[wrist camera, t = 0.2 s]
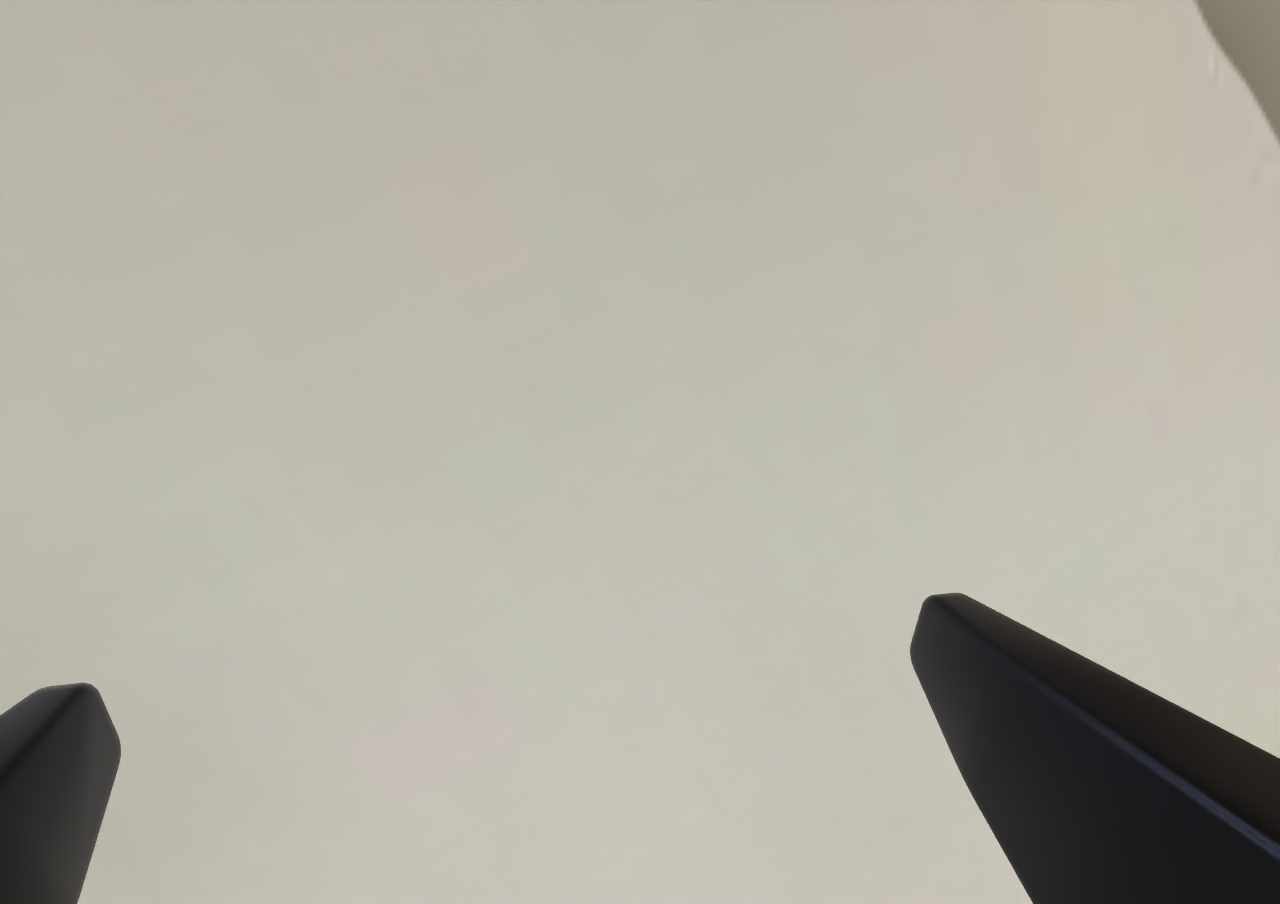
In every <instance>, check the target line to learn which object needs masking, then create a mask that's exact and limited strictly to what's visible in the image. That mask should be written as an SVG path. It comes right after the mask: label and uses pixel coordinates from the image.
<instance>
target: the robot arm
mask: <svg viewBox="0 0 1280 904" xmlns="http://www.w3.org/2000/svg"><path fill="white" fill-rule="evenodd" d="M910 655H911V661H912V664H913V667H914V670H915V672H916V674H917V676H918V679H919V681H920V683H921V685H922V688H923V690H924V692H925V694H926V697H927V699H928V701H929V703H930V706H931V708H932V710H933V712H934V715H935V717H936V719H937V721H938V724H939V726H940V728H941V730H942V733H943V735H944V737H945V739H946V742H947V744H948V746H949V748H950V751H951V753H952V755H953V757H954V760H955V762H956V764H957V766H958V768H959V770H960V772H961V774H962V777H963V779H964V781H965V783H966V785H967V786H968V788H969V790H970V792H971V794H972V796H973V798H974V800H975V801H976V803H977V805H978V807H979V809H980V810H981V812H982V814H983V816H984V817H985V819H986V821H987V823H988V824H989V826H990V828H991V830H992V832H993V833H994V835H995V837H996V839H997V840H998V842H999V844H1000V846H1001V847H1002V849H1003V851H1004V853H1005V855H1006V856H1007V858H1008V860H1009V862H1010V863H1011V865H1012V867H1013V869H1014V871H1015V872H1016V874H1017V876H1018V878H1019V879H1020V881H1021V883H1022V885H1023V886H1024V888H1025V890H1026V892H1027V894H1028V895H1029V897H1030V899H1031V901H1032V902H1033V904H1280V759H1279V758H1277V757H1276V756H1274V755H1272V754H1270V753H1268V752H1266V751H1264V750H1262V749H1260V748H1258V747H1256V746H1254V745H1253V744H1251V743H1249V742H1247V741H1245V740H1243V739H1241V738H1239V737H1237V736H1235V735H1233V734H1231V733H1229V732H1228V731H1226V730H1224V729H1222V728H1220V727H1218V726H1216V725H1214V724H1212V723H1210V722H1208V721H1206V720H1204V719H1203V718H1201V717H1199V716H1197V715H1195V714H1193V713H1191V712H1189V711H1187V710H1185V709H1183V708H1181V707H1180V706H1178V705H1176V704H1174V703H1172V702H1170V701H1168V700H1166V699H1164V698H1162V697H1160V696H1158V695H1156V694H1155V693H1153V692H1151V691H1149V690H1147V689H1145V688H1143V687H1141V686H1139V685H1137V684H1135V683H1133V682H1131V681H1130V680H1128V679H1126V678H1124V677H1122V676H1120V675H1118V674H1116V673H1114V672H1112V671H1110V670H1108V669H1107V668H1105V667H1103V666H1101V665H1099V664H1097V663H1095V662H1093V661H1091V660H1089V659H1087V658H1085V657H1083V656H1082V655H1080V654H1078V653H1076V652H1074V651H1072V650H1070V649H1068V648H1066V647H1064V646H1062V645H1060V644H1058V643H1057V642H1055V641H1053V640H1051V639H1049V638H1047V637H1045V636H1043V635H1041V634H1039V633H1037V632H1035V631H1034V630H1032V629H1030V628H1028V627H1026V626H1024V625H1022V624H1020V623H1018V622H1016V621H1014V620H1012V619H1010V618H1009V617H1007V616H1005V615H1003V614H1001V613H999V612H997V611H995V610H993V609H991V608H989V607H987V606H986V605H984V604H982V603H980V602H978V601H976V600H974V599H972V598H970V597H968V596H966V595H964V594H961V593H948V594H938V595H932V596H929V597H928V598H927V599H926V600H925V601H924V602H923V605H922V608H921V611H920V614H919V618H918V621H917V625H916V628H915V632H914V635H913V638H912V642H911V646H910ZM120 756H121V746H120V740H119V737H118V734H117V732H116V730H115V727H114V725H113V723H112V720H111V718H110V716H109V714H108V711H107V709H106V707H105V704H104V702H103V700H102V698H101V695H100V693H99V692H98V690H97V689H96V688H95V687H94V686H93V685H91V684H87V683H77V684H67V685H58V686H49V687H45V688H41V689H39V690H37V691H35V692H34V693H32V694H30V695H29V696H28V697H26V698H25V699H23V700H22V701H20V702H19V703H17V704H16V705H15V706H13V707H12V708H10V709H9V710H7V711H6V712H5V713H3V714H2V715H0V904H77V903H78V900H79V897H80V893H81V890H82V887H83V883H84V880H85V877H86V873H87V870H88V867H89V863H90V860H91V857H92V853H93V850H94V847H95V843H96V840H97V837H98V833H99V830H100V827H101V823H102V820H103V817H104V813H105V810H106V807H107V803H108V800H109V797H110V793H111V790H112V787H113V783H114V780H115V777H116V773H117V770H118V767H119V762H120Z"/></svg>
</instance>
